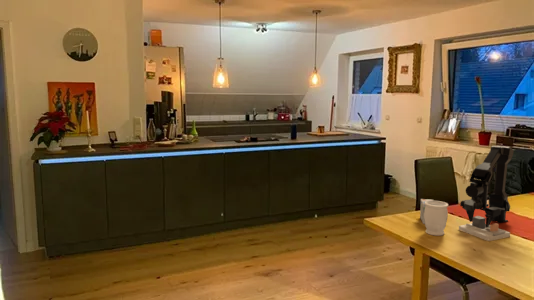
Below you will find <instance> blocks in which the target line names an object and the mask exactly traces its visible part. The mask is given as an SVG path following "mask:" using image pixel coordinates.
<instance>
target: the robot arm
mask: <svg viewBox="0 0 534 300" xmlns="http://www.w3.org/2000/svg"><path fill="white" fill-rule="evenodd" d="M513 155H514V149H513V148H512V147H511V146H504V145H492V146H491V147H490V150H489V152H488V154H487V155H486V157H485V158H484V160H483V162H482V163H479V164H478V165H477V166H476V167H475V168H474V169H473V170H472V172H471V175H470V177H469V182H470V184H469V185H468V186H467V187H466V188H465V193H466V195H467V196H468V197H470V199H464V200H461V201H460V205H459V206H460V207H462V209H463V210H465V212H466V214H467V216H468V221H469V222H470V223H472V220H473V217H475V216H474V215H475V211H476V210H481V211H484V213H485V214H484V217H485V218H486V220H485V224H486V227H489V225H491V223H492V222H496V223H498V224H500V223H501V224H502V223H506V222H509V220H508V219H507V218H506V216H507V215H506V214H507V212H510V211H511V210H510V209H511V204H510V202H509V200H508V199H509V197H508V194H507V192H506V183H507V182H506V181H507V173H508V172H507V171H508V164H509V163H510V161H511V160H513ZM495 164H496V170H495V180H494V190H493V191H492V193H490V194H488V193H489V191H488V190H489V184H490V181H491V179H492V177H493V171H492V170H493V168H494V166H495Z"/></svg>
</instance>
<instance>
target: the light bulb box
mask: <svg viewBox="0 0 534 300" xmlns="http://www.w3.org/2000/svg"><path fill="white" fill-rule="evenodd" d="M426 201H435V200H434V199H428V198H427V199H425V198H420V210H419V211H420V212H419V215H420V216H419V218H420V220H421V222H422V224H423V225H425V220H424V210H425V207H426V205H425V202H426Z"/></svg>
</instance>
